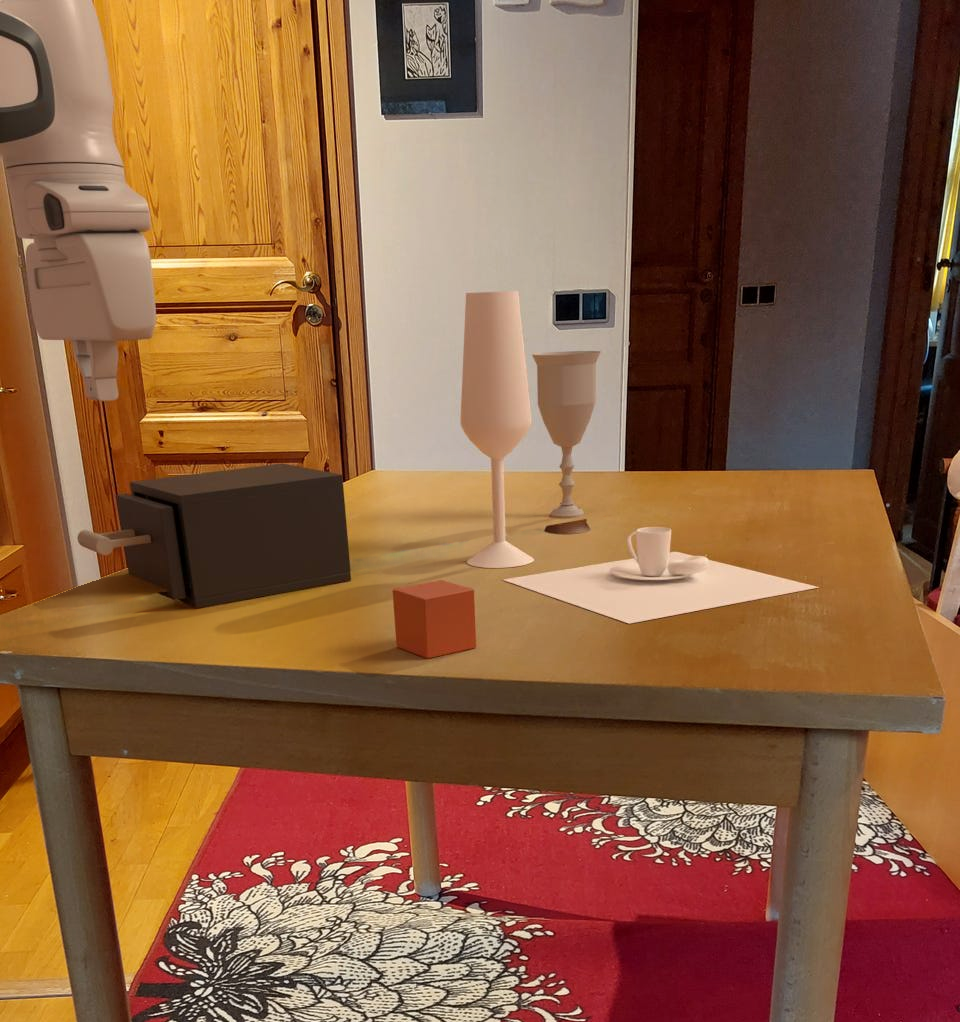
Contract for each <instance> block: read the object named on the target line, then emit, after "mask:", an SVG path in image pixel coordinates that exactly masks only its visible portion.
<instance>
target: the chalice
mask: <svg viewBox="0 0 960 1022" xmlns="http://www.w3.org/2000/svg"><path fill="white" fill-rule="evenodd" d="M600 355H601V351H600V350H572V351H571V350H570V351H549V352H538V353H532V354H531V356H532V358H533V360H534V362H535V364H536V381H537V382H536V383H537V384H536V385H537V406H538V409H539V412H540V416H541V419H542V422H543V425H544V426H545V428H546V430H547V432H548V435H549V436H550V439H551V441H552V443H553V444H554V445H556V446H558V447H559V448H560V449H561V453H562V458H561V463H560V465H559V469H560V470H561V473H562V477H561V481H560V482H559V484H558V486H559V487H560V488H561V491H562V500H561V502H560V503H559V506H557V507H554V508H553V510H552V511H550V517H551V518H555V519H575V518H581V517H584V514H585V512H584V511H583V509H582V508H581V507H579V506H576V505H575V502H574V501H573V497H572V492H573V488H574V487H575V485H576V483H575V482H574V480H573V477H572V473H573V470H574V468H575V464H574V462H573V458H572V452H573V447H575V446H577V445H579V444H580V443H581V441H582V440H583V437H584V435H585V433H586V430H587V427H588V425H589V424H590V420H591V418H592V414H593V412H594V408H595V406H596V400H597V399H596V397H597V395H596V392H597V391H596V388H597V387H596V386H597V384H596V383H597V382H596V379H597V377H596V376H597V375H596V374H597V373H596V370H597V368H596V367H597V365H596V364H597V361H598V359H599V357H600ZM587 521H588V520H587V518H583V519H579V520H577V519H576V520H571V521H566V522H561V523H556V524H548V525H546V526H545V528H544V533H548V534H554V535H555V534H556V535H573V534H582V533H586V532H589V531H591V528H590V526H589V524H588V522H587Z"/></svg>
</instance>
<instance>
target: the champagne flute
mask: <svg viewBox="0 0 960 1022" xmlns="http://www.w3.org/2000/svg"><path fill="white" fill-rule="evenodd" d="M522 323H523V322H522V313H521V305H520V293H519V290H506V291H483V292H481V291H480V292H466V293H465V310H464V329H463V330H464V333H463V355H462V375H461V377H462V378H461V400H460V401H461V402H460V427H461V429H462V430H463V432H464V434H465V436H466V437H467V439H468V440H469V441H470V443H472V444H473V445H474V446H475V447H476V448H477V449H478V450H479V451H480V452H481V453H482V454H483V455H485V456H487V457H488V458H489V459H490V468H491V495H492V496H491V498H492V499H491V501H492V527H493V529H492V530H493V541H492V542H491V543H489V544H488V545H487V546H485V547H483V548H482V549H481V550H480V551H479V552H477V553H475V554H474V555H473V556H471V557H470V558H468V559H467V560H466V564H467V565H469V566H472V567H477V568H485V569H504V568H515V567H520V566H521V567H522V566H525V565H529V564H531V563H533V562H534V561H535V558H534V557H532V556H531V555H529V554H527V553H526V552H524V551H523V550H521V549H520V548H518V547H516V546H514V545H513V544H512V543H510V542H508V541H507V540H506V537H507V536H506V505H505V504H506V503H505V474H504V473H505V472H504V458H505V457H507V456H508V455H509V454H511V453H512V452H513V450H515V448H516V447H517V446H518V445H519V444H520V443H521V442H522V440H523V439H524V438H525V436H526V434H527V433H528V432H529V430H530V427H531V425H532V420H533V419H532V410H531V400H530V399H531V398H530V391H529V390H530V389H529V380H528V371H527V362H526V351H525V343H524V334H523V333H524V332H523V324H522Z"/></svg>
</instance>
